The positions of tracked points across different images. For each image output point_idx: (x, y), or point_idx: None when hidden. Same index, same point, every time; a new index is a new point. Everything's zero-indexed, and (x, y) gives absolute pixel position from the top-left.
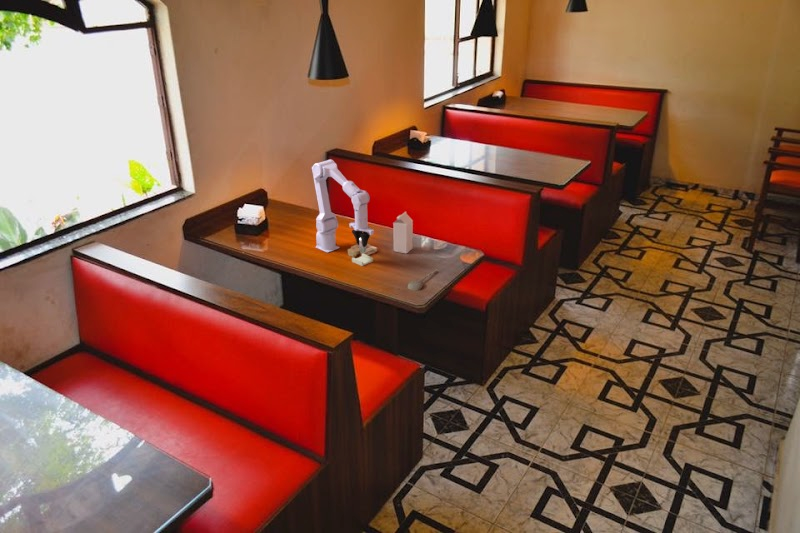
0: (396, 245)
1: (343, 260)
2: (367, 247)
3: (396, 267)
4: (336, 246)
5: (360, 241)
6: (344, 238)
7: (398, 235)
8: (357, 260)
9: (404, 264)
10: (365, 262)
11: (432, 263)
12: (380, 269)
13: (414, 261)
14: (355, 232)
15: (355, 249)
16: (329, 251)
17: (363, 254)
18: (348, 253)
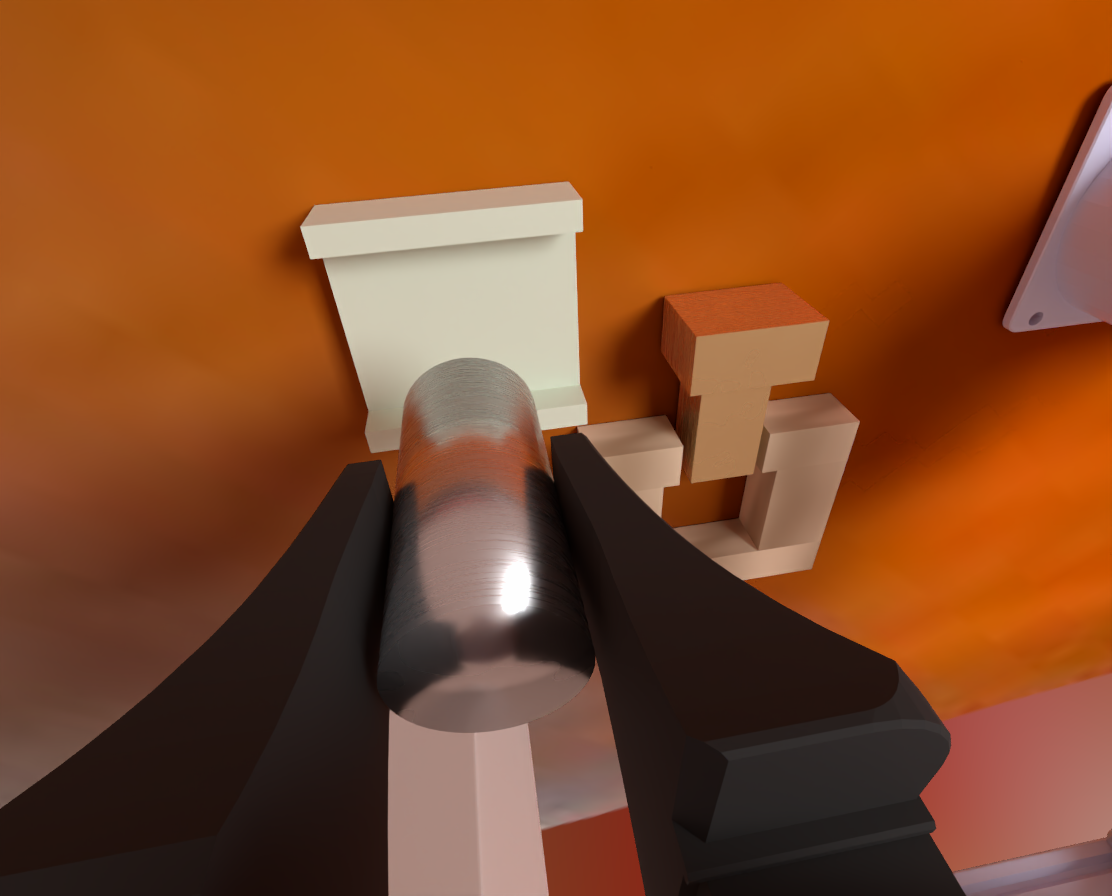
0: (442, 739)
1: (713, 98)
2: (698, 546)
3: (42, 533)
4: (1060, 314)
5: (450, 530)
6: (1056, 494)
7: (418, 888)
8: (427, 213)
9: (103, 619)
10: (356, 307)
11: (22, 769)
12: (48, 356)
13: (142, 697)
14: (674, 751)
15: (755, 419)
16: (1097, 127)
17: (552, 414)
18: (780, 294)
